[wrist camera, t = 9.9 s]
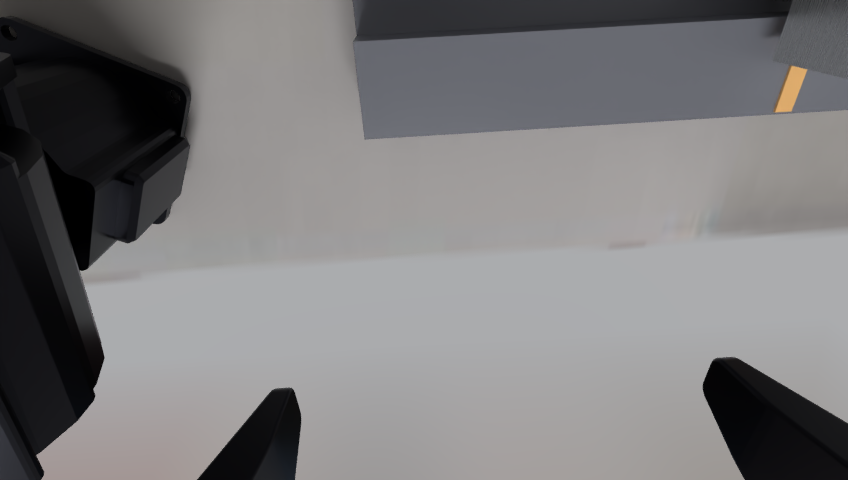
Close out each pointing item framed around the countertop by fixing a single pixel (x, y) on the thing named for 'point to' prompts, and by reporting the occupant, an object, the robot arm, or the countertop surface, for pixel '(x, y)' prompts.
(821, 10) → the fader tab
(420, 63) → the fader console
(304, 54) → the countertop surface
